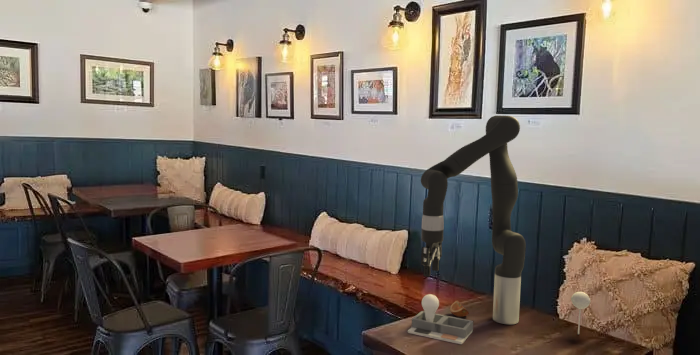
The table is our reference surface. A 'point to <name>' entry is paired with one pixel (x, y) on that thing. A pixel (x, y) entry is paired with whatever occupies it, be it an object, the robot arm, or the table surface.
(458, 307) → the fruit slice
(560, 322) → the table surface
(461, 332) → the socket board
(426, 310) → the lightbulb
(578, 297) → the lollipop
